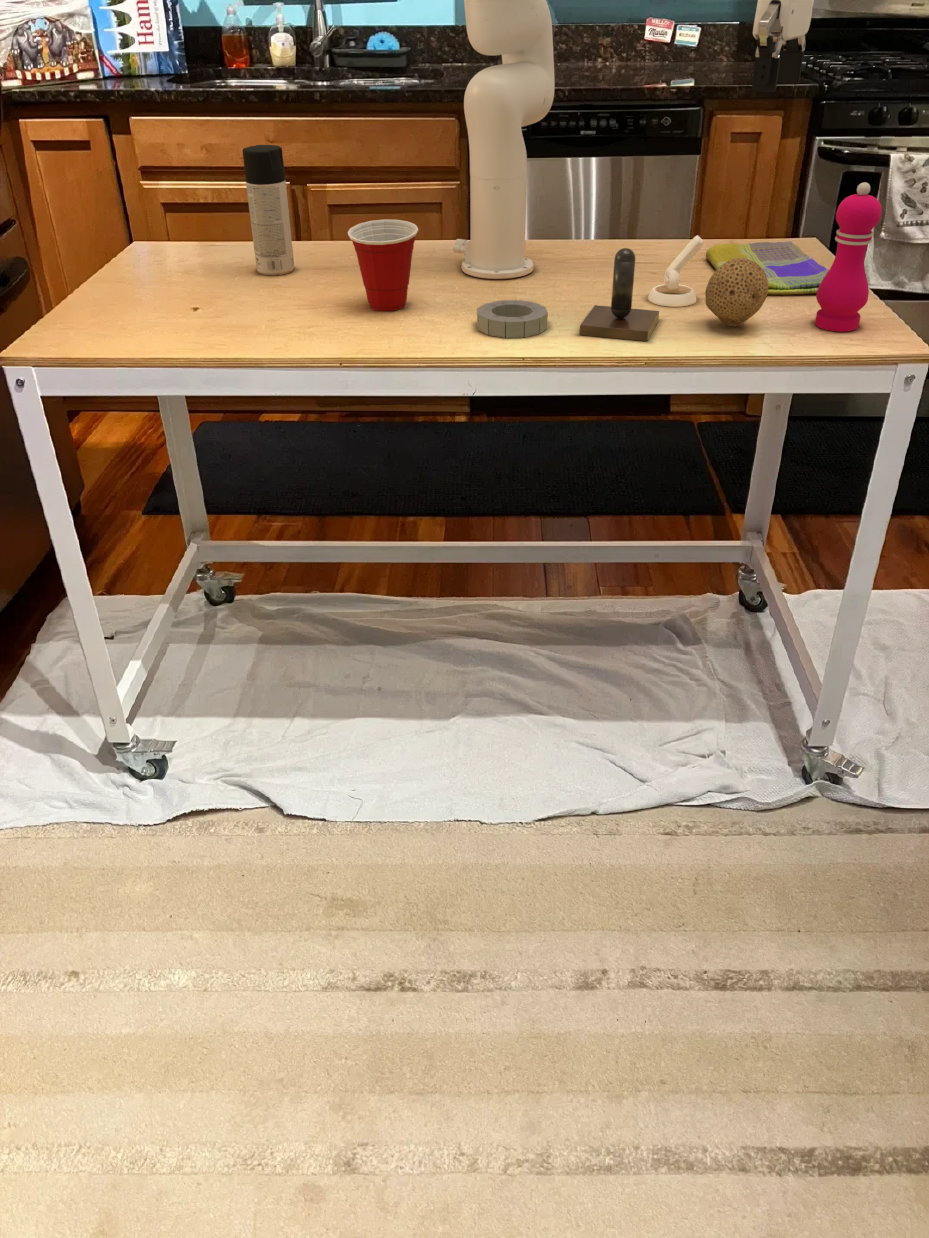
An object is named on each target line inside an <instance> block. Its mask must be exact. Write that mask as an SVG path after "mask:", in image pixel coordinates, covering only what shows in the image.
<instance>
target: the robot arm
mask: <svg viewBox="0 0 929 1238" xmlns="http://www.w3.org/2000/svg"><path fill="white" fill-rule="evenodd" d="M814 2H815V0H757V3H756V8H755V9H756V10H755V16H754V21H753V28H752V36H753V37H754V39H755V40H756V44H757V47H756V49H755V60H754V67H753V74H752V82H751V91H752V92H760V93H774V92H775V91H776V90H777V87H778V84H782V85H798V84H799V83H800V79H801V73H802V66H803V61H804V54H805V49H806V37H807V36H808V31H809V29H810V26H811V22H812V17H813V16H812V15H813V10H814ZM463 4H464V16H465V18H464V19H465V27H466V33H467V38H468V41H469V43H470V45H471V47H472V48H473V50H474V51H476V52H477V53H479V54H481V55H483V56H494V57H495V56H501V62H502V63H501V64H497V65H491V66H488V67H485V68H483V69H481V70H480V71H478V72H477V73H476V74H475V75H474V76H473V77H472V78H471V79H470V80H469V82H468V84H467V86H466V89H465V91H464V96H463V111H464V119H465V124H466V131H467V136H468V137H467V139H468V149H469V192H470V193H469V198H470V199H469V201H470V203H469V204H470V205H469V207H470V210H469V211H470V213H469V216H470V217H469V218H470V219H469V221H470V226H469V227H470V228H469V229H470V230H469V231H470V233H469V234H470V235H469V236H470V240H467V239H463V238H456V240H455V242H454V245H453V250H452V251H453V253H456V254H464V260H463V261H462V262H461V270H462V272H464V274H466V275H469V276H470V277H475V278H480V279H489V280H490V279H491V280H505V279H506V280H507V279H515V278H520V277H524V276H527V275H529V274H530V273H532V272H533V271H534V267H535V266H534V264H535V263H534V261H533V260H532V259H531V258H528V257H526V232H527V231H526V229H527V227H526V225H527V189H528V173H527V172H528V153H527V148H526V144H525V140H524V136H523V130H522V128H523V127H526V126H530V125H533V124H536V123H538V122H540V121H541V120H543V119H544V118H545V117H546V116H547V115H548V113H549V112H550V111H551V108H552V105H553V102H554V98H555V90H556V89H555V88H556V87H555V86H556V85H555V58H554V36H553V21H552V16H551V11H550V8H549V4H548V1H547V0H463ZM781 49H782V50H781Z"/></svg>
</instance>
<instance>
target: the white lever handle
mask: <svg viewBox="0 0 929 1238" xmlns="http://www.w3.org/2000/svg"><path fill="white" fill-rule="evenodd" d="M702 247H704V240H703V238H702V237H700V235H698V234H697V235H695V236H694V237H693V238H692V239H691V240H690V241H689V242H688V243H687V245H686V246H685V247H684V248H683V249H682V250H681V251H680V252H679V254H678V255H677V256H676V257H675V259H673V260H672V262H671V263H670V264H669V265H668V266H667V268H666V269H665V271H664V276H663V277H664V278H663V280H664V283H662V284H657V285H655V286H653V287H652V289H651V290H650V292H649V294H648V296H647V300H648V301H649V303H652V304H654V305H657V306H662V307H672V308H673V307H675V308H678V307H688V306H691V305H694V304H696V302H697V296H696V293H695V290H694V289H693V288H692V287H691V286H688V285H685V284H680V282H681V279H680V274H681V272H682V270H683V269H684V267H685V266H687V265H688V263H689V262H690V261H691V260H692V259H693V258H694V257H695V255H696V254H697V253H698V252H699V251H700V250H701V248H702Z"/></svg>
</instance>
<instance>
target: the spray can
mask: <svg viewBox="0 0 929 1238" xmlns="http://www.w3.org/2000/svg"><path fill="white" fill-rule="evenodd" d="M283 155H284V153H283V148H282V146H280V145H275V144H274V145H273V144H256V145H251V146H247V147H244V148H242V159H243V168H244V177H245V178H244V179H245V185H246V194H247V195H246V196H247V202H248V211H249V219H250V227H251V234H252V235H251V236H252V243H253V251H254V260H255V267H256V271H257V273H258V274H260V275H263V276H265V275H266V276H283V275H288V274H289V273H292V272H293V271H294V270H295V259H294V250H293V240H292V231H291V230H292V229H291V228H292V227H291V219H290V209H289V200H288V191H287V180H286V172H285V163H284V157H283Z"/></svg>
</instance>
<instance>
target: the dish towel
mask: <svg viewBox="0 0 929 1238" xmlns="http://www.w3.org/2000/svg"><path fill="white" fill-rule="evenodd" d="M705 257H706V259H707V260H708V261H709V263H710V264H711V265H712V266H713V267H714V269H715V271H716V270H717V269H718V268H719V267H720V266H722V265H723V264H724V263H726V262H727V261H729V260H732V259H734V258H746V259H749V260H752V261H754V262H756V263H757V264H758V265H759V266H760V267H761V268H762V269H763V270H764V272H765V273H766V276H767V280H768V293H767V295H805V294H806V295H807V294H817V291H818V288H819V286H820V284H821V282H822V280H823V278H824V277H825V275H826V274H827V273H828V271H829V270H830V268H829V269H828V268H827V267H825V266H823V265H822V264H819V263H818V262H817V261H816V260H815V259H814V258H812V257H810V256H809V255H808V254H807V253H804V251H803V250H802V249H801V248H800V246H798V244H796V243H793V241H791V240H790V241H789V240H788V241H777V242H769V241H762V242H761V241H760V242H753V243H742V244H741V243H739V244H738V243H737V244H736V243H720V244H716V245H713V246H711V247H709V248H708V249H707V250H706V251H705Z"/></svg>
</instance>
